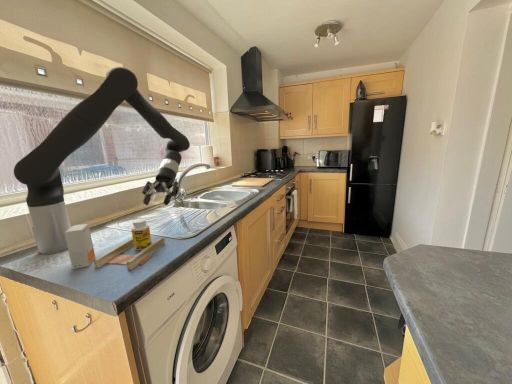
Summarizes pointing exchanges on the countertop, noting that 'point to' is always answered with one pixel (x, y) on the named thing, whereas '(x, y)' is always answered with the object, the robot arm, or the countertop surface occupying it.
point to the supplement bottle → (141, 234)
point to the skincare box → (80, 246)
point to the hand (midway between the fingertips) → (155, 204)
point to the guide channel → (129, 260)
